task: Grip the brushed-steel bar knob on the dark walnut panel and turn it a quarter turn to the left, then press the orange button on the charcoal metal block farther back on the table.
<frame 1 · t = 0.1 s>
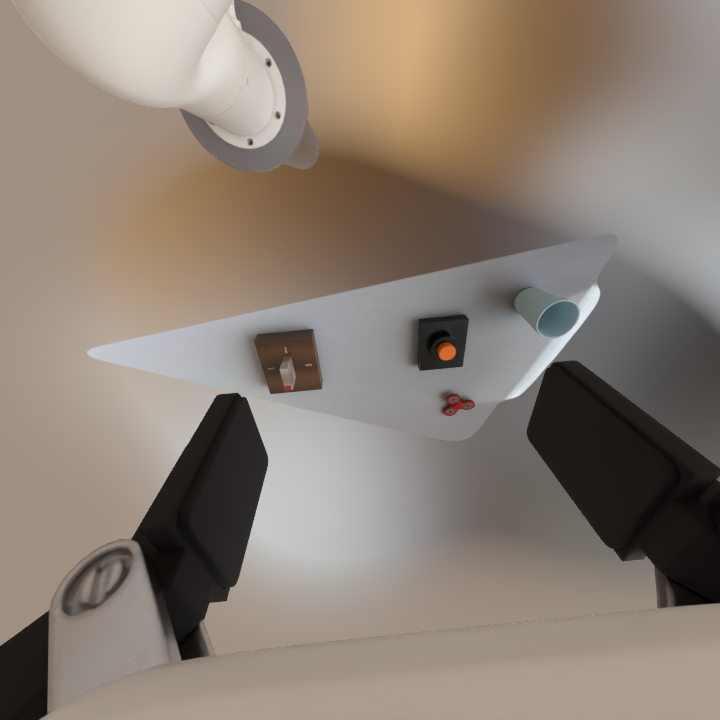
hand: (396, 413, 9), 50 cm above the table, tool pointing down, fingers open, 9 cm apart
button block: (440, 341, 65), on the table
button: (446, 351, 62), point 4 cm above the table, slide at 0.1 cm
dial: (288, 373, 61), point 6 cm above the table, hinge at 0.0°
fidget spinner: (456, 409, 74), point 2 cm above the table
panel: (291, 359, 66), on the table
cup: (526, 300, 61), on the table
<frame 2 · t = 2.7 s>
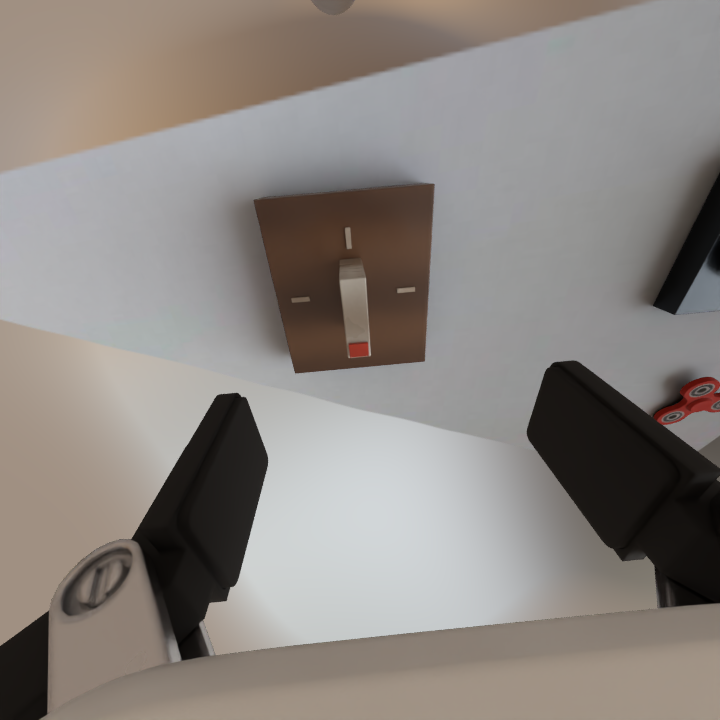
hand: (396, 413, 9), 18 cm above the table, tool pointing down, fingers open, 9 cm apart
dial: (354, 307, 20), point 6 cm above the table, hinge at 0.0°
fidget spinner: (696, 411, 34), point 2 cm above the table
panel: (352, 282, 25), on the table
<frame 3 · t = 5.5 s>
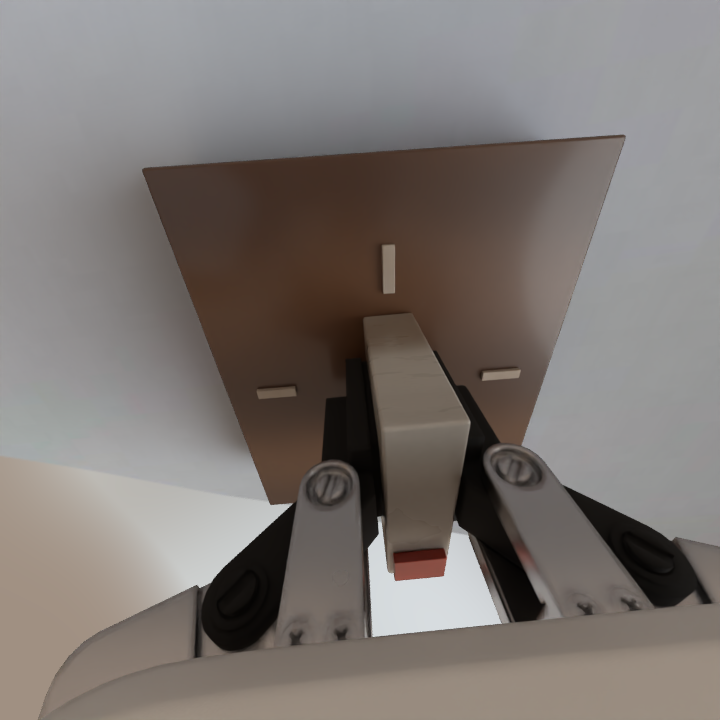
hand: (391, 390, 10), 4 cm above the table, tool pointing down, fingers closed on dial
dial: (401, 435, 8), point 6 cm above the table, hinge at 0.8°, touching gripper
panel: (379, 343, 13), on the table
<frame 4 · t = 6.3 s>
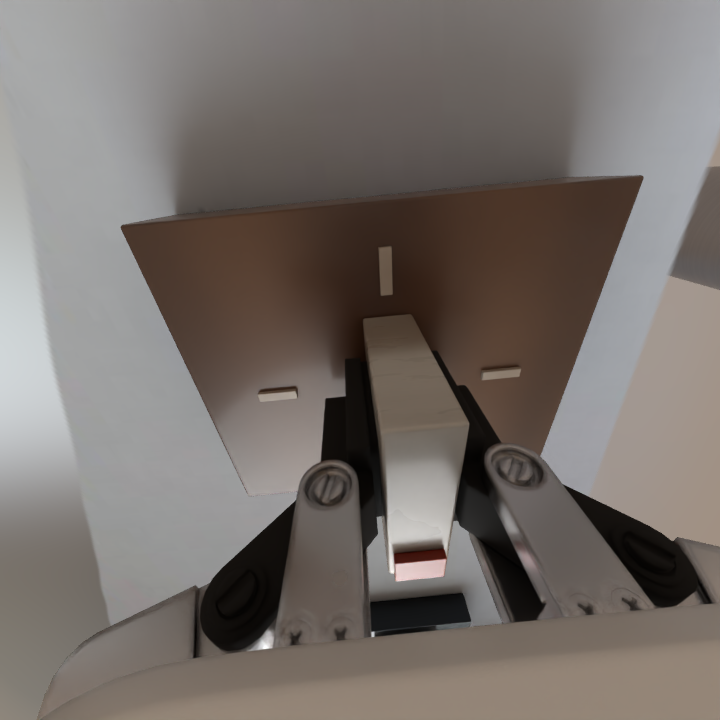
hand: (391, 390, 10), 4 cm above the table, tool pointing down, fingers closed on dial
button block: (403, 617, 31), on the table
dial: (402, 436, 8), point 6 cm above the table, hinge at 89.9°, touching gripper
panel: (380, 344, 13), on the table
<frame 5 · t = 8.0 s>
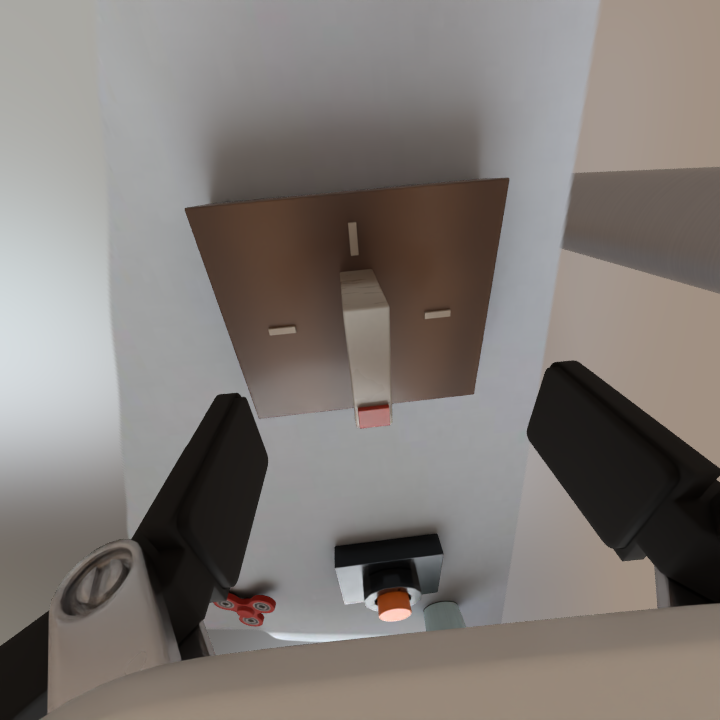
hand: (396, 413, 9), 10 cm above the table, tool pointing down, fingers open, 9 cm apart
button block: (387, 560, 36), on the table
button: (393, 605, 32), point 4 cm above the table, slide at 0.1 cm
dial: (365, 345, 13), point 6 cm above the table, hinge at 90.0°
fidget spinner: (239, 614, 37), point 2 cm above the table
panel: (356, 302, 18), on the table
cup: (440, 606, 46), on the table
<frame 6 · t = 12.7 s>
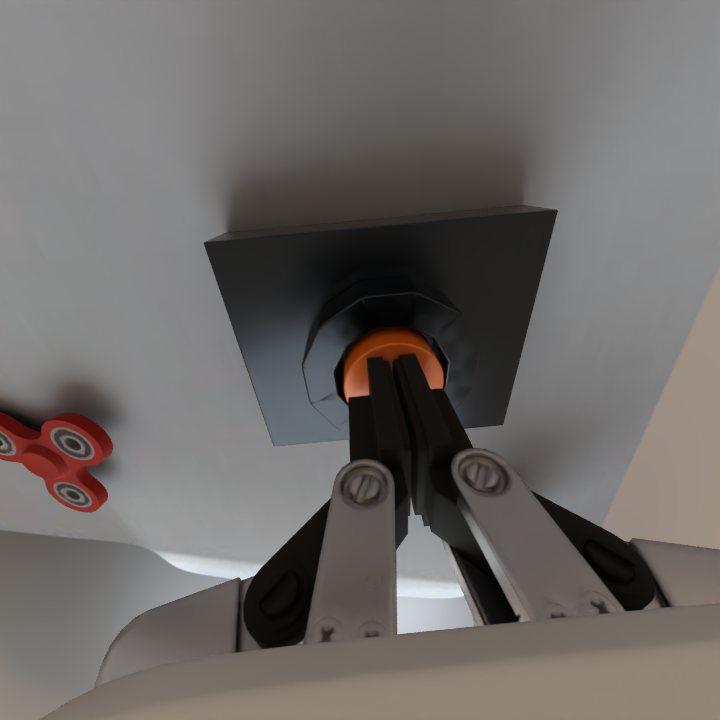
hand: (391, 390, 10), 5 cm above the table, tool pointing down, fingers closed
button block: (379, 330, 14), on the table
button: (390, 373, 11), point 4 cm above the table, slide at -0.7 cm, touching gripper
fidget spinner: (22, 464, 15), point 2 cm above the table
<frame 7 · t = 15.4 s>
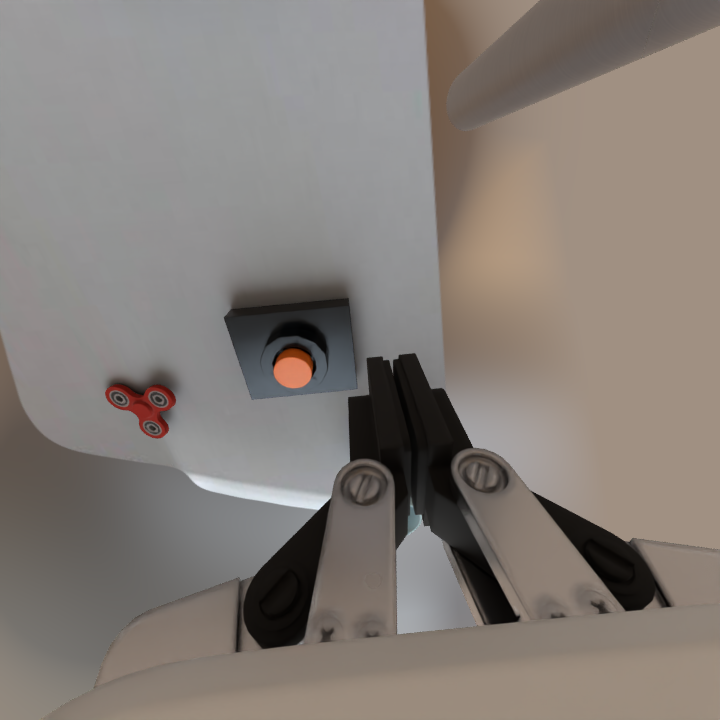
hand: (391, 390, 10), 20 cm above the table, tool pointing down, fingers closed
button block: (298, 346, 32), on the table
button: (293, 368, 28), point 4 cm above the table, slide at 0.1 cm
fidget spinner: (133, 409, 33), point 2 cm above the table
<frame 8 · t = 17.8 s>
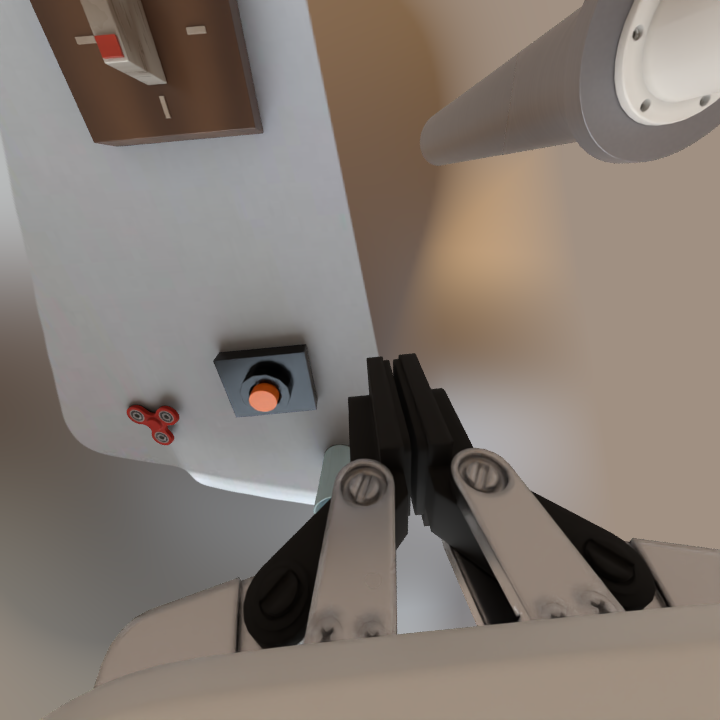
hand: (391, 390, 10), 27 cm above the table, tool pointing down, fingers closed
button block: (271, 377, 42), on the table
button: (264, 397, 38), point 4 cm above the table, slide at 0.1 cm
dial: (118, 18, 19), point 6 cm above the table, hinge at 90.0°
fidget spinner: (147, 424, 43), point 2 cm above the table
panel: (162, 51, 24), on the table
cup: (339, 454, 52), on the table
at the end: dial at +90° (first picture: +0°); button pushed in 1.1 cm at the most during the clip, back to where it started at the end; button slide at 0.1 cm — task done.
